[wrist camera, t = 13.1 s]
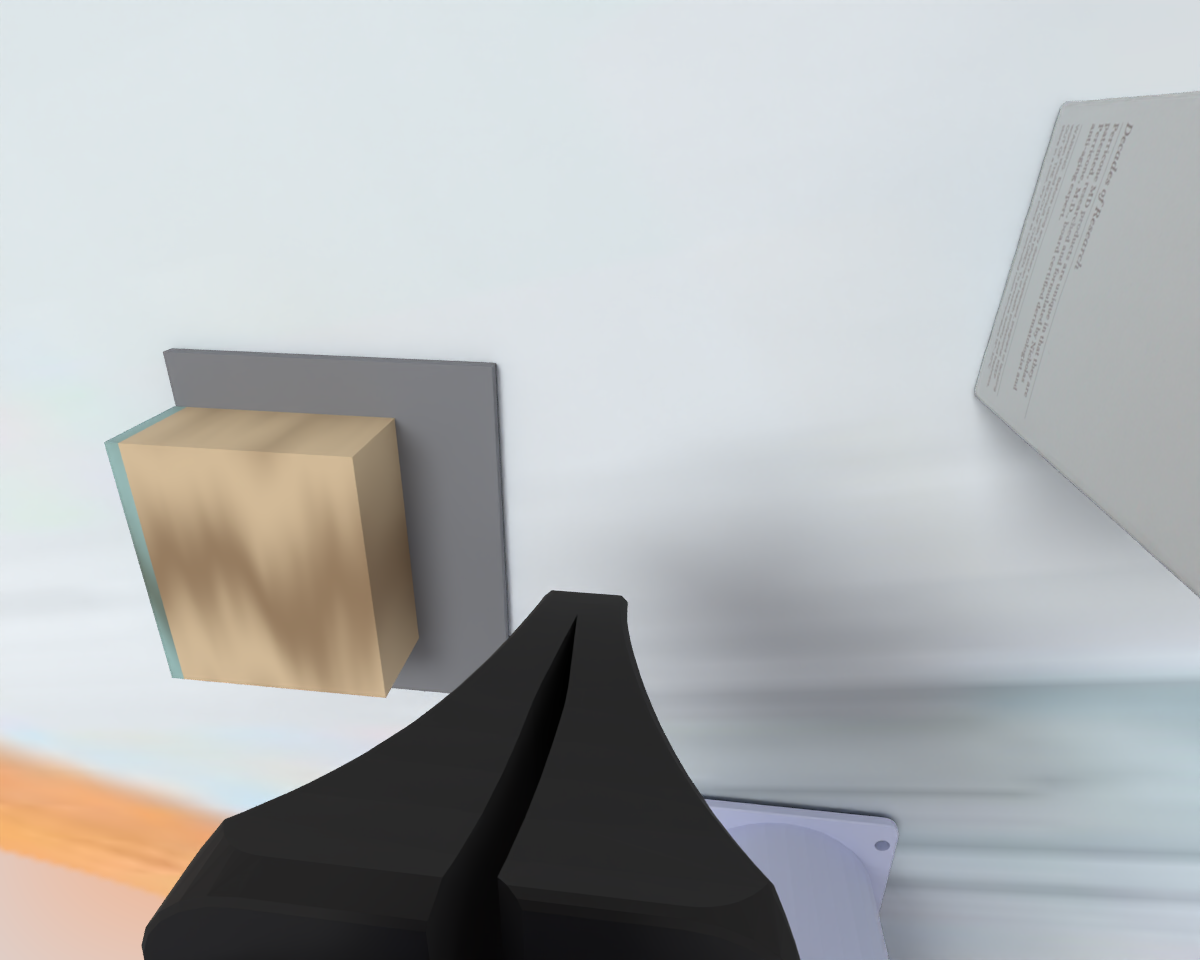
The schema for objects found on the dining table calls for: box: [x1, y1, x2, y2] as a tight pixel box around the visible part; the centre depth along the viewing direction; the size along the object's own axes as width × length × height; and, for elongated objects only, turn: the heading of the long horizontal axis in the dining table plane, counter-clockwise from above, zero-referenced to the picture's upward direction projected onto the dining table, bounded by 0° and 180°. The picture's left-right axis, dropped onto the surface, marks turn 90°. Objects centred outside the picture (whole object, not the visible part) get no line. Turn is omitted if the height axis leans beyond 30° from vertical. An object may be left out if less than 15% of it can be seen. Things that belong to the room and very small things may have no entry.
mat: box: [163, 349, 509, 693], centre depth 24 cm, size 12×10×1 cm
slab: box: [104, 406, 419, 698], centre depth 23 cm, size 8×3×7 cm
